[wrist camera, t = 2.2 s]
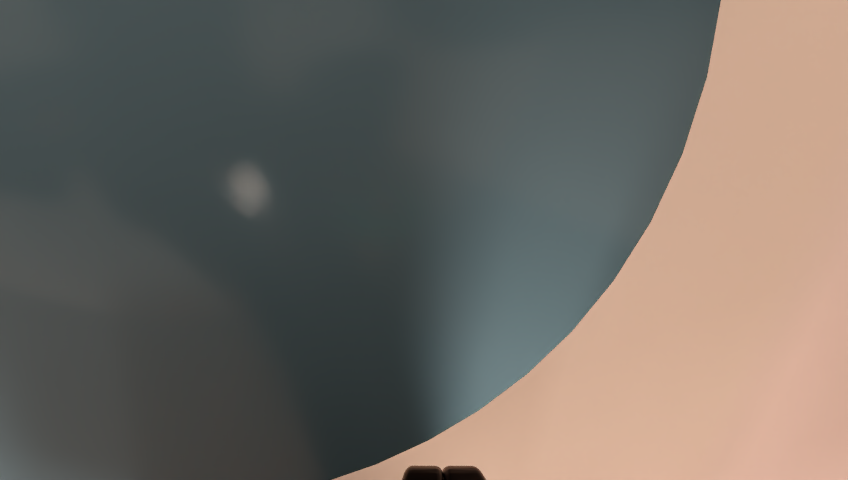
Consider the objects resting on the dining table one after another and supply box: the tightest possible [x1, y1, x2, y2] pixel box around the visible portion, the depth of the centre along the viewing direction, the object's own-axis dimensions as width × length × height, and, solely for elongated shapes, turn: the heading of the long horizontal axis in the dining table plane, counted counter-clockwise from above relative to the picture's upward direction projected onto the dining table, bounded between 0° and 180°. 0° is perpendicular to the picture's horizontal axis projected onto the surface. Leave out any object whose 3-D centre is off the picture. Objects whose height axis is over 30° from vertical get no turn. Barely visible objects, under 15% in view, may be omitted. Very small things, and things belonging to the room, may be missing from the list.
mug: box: [0, 0, 721, 480], centre depth 7 cm, size 11×7×6 cm, turn 164°
